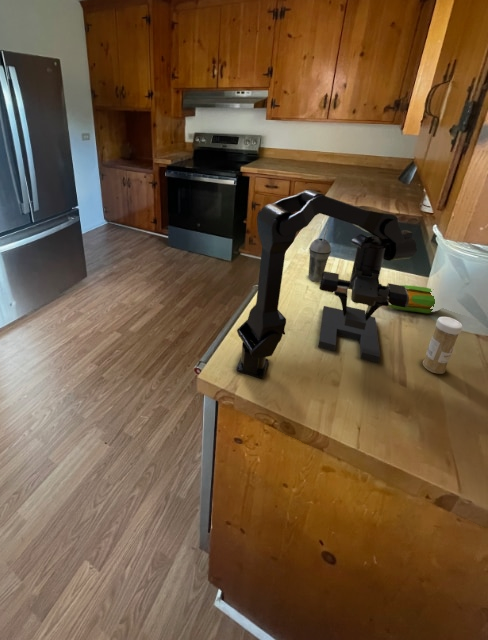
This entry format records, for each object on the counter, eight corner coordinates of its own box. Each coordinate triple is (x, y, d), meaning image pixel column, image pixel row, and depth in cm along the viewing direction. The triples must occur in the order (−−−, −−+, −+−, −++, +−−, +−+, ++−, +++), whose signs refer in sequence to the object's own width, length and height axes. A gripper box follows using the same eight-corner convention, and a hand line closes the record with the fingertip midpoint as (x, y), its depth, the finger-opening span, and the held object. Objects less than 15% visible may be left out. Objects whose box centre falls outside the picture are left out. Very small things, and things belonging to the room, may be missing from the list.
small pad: (364, 330, 80) (366, 323, 79) (344, 325, 81) (345, 318, 81) (363, 316, 85) (365, 310, 84) (344, 312, 86) (345, 306, 86)
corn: (456, 296, 95) (380, 287, 99) (449, 319, 97) (375, 310, 102) (444, 285, 102) (373, 278, 106) (437, 307, 104) (369, 299, 109)
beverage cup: (300, 275, 123) (308, 224, 115) (316, 272, 125) (325, 223, 117) (312, 284, 116) (322, 232, 109) (329, 281, 118) (340, 229, 111)
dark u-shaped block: (378, 363, 81) (380, 357, 80) (318, 347, 86) (319, 340, 85) (373, 322, 96) (375, 317, 95) (322, 311, 101) (323, 305, 101)
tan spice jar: (445, 377, 77) (464, 330, 72) (421, 369, 79) (438, 323, 74) (444, 365, 80) (462, 320, 75) (421, 358, 83) (437, 313, 77)
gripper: (323, 268, 73) (312, 325, 79) (421, 286, 66) (401, 348, 72) (326, 249, 83) (316, 302, 89) (412, 264, 76) (395, 320, 82)
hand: (354, 317), depth 83 cm, fingers closed on small pad, 4 cm apart
